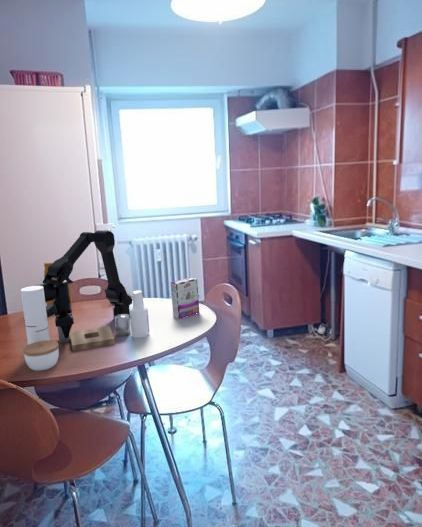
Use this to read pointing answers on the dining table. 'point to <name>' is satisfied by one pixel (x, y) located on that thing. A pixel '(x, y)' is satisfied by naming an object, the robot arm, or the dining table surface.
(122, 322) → the clear glass jar
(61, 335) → the square bit
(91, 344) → the bore block
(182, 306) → the candy bar box
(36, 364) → the lidded jar
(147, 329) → the spray bottle
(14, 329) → the dining table surface
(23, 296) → the cylindrical container
